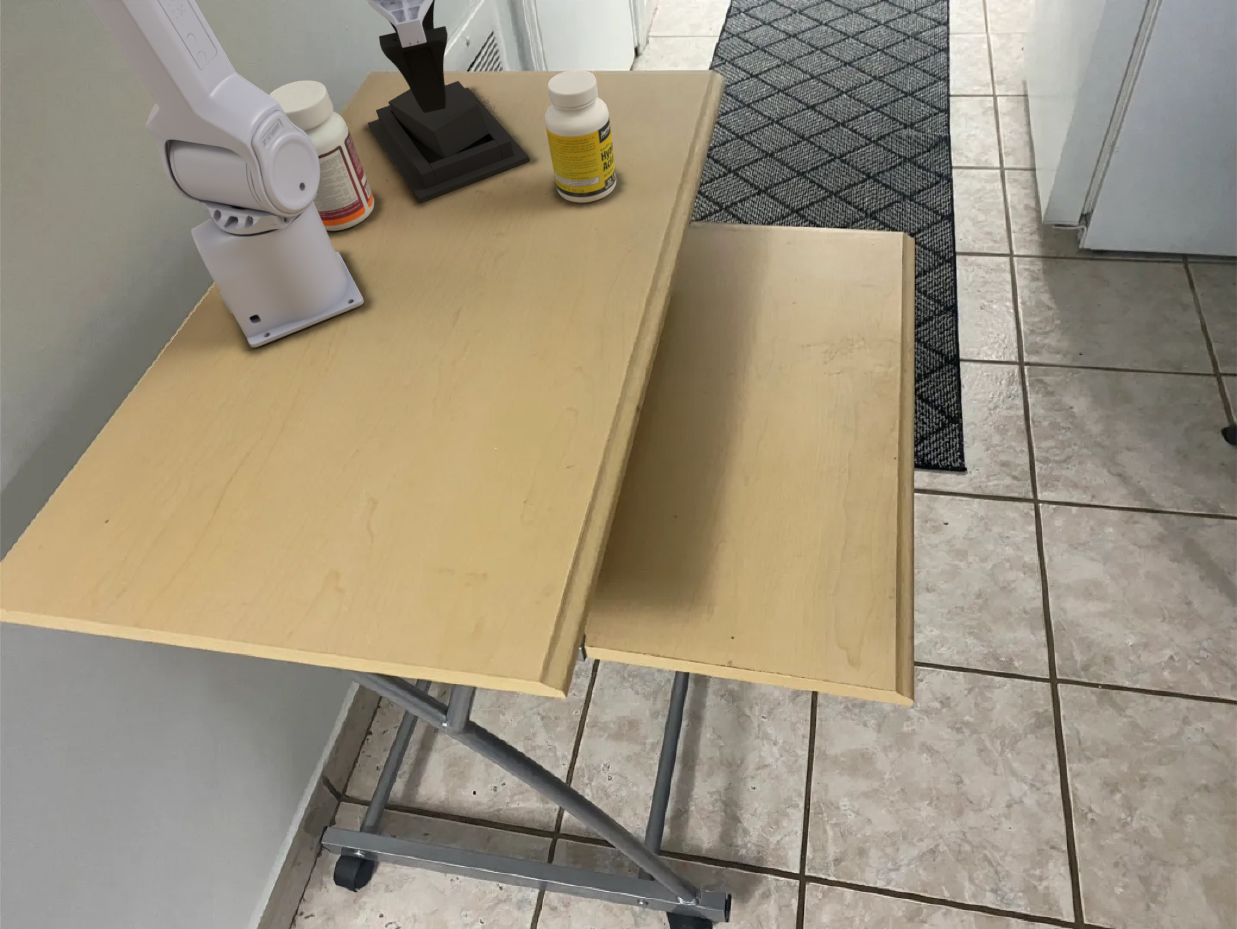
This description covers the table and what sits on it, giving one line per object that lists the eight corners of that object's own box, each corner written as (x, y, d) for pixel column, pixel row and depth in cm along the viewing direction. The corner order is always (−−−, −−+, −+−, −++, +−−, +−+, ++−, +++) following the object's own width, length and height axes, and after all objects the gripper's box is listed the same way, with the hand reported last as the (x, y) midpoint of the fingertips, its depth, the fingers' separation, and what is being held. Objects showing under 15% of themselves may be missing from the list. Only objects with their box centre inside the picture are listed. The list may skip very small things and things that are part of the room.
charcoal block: (490, 133, 84) (478, 103, 82) (445, 160, 83) (432, 131, 81) (442, 104, 91) (430, 76, 89) (401, 129, 90) (387, 101, 87)
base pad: (530, 161, 84) (526, 141, 83) (420, 203, 82) (413, 184, 80) (468, 91, 94) (464, 72, 92) (368, 127, 92) (362, 108, 90)
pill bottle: (337, 187, 85) (290, 71, 76) (389, 199, 83) (347, 81, 74) (295, 226, 82) (241, 109, 73) (348, 239, 80) (299, 120, 71)
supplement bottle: (617, 202, 79) (603, 95, 71) (555, 207, 79) (535, 102, 72) (618, 166, 82) (605, 61, 75) (559, 172, 83) (540, 68, 75)
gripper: (442, -48, 69) (483, 117, 79) (425, -112, 78) (463, 44, 89) (351, -29, 68) (404, 135, 79) (344, -95, 78) (392, 60, 88)
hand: (430, 88), depth 84 cm, fingers open, 7 cm apart
